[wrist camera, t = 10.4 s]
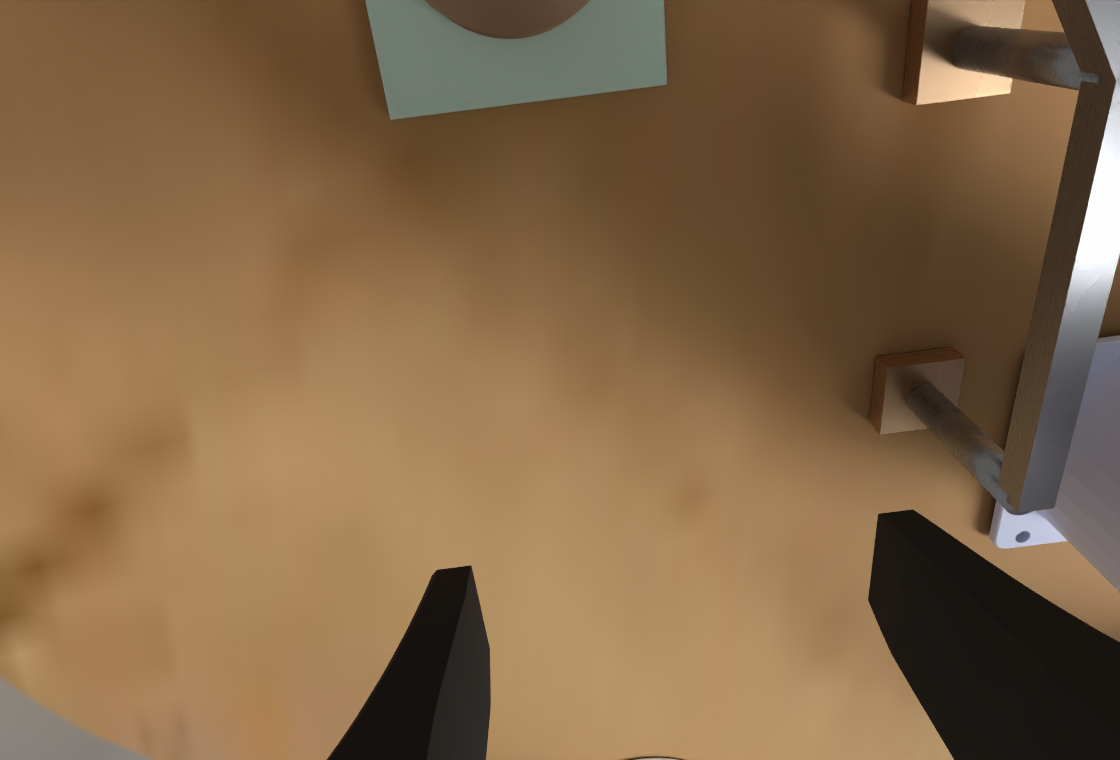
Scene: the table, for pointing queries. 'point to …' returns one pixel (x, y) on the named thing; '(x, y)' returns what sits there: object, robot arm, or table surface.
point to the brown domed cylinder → (508, 15)
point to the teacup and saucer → (656, 759)
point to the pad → (513, 57)
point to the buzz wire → (1072, 250)
